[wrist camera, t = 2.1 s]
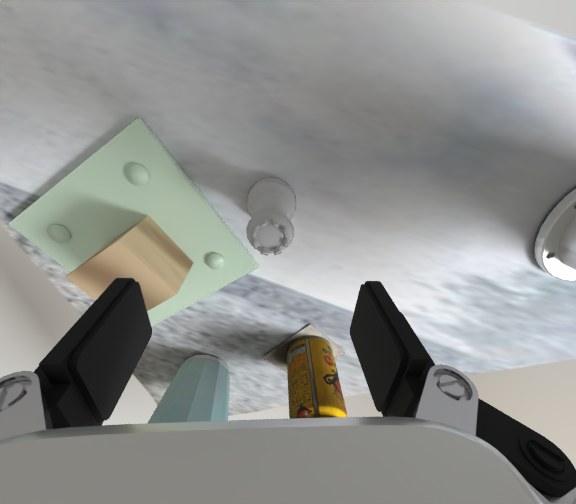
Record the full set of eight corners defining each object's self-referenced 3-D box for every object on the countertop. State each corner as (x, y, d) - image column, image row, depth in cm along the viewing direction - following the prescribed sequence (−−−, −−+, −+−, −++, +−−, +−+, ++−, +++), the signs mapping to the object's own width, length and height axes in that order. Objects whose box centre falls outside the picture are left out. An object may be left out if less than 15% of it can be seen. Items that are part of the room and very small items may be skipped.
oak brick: (148, 215, 23) (118, 240, 19) (193, 262, 26) (177, 294, 21) (102, 246, 24) (65, 277, 20) (150, 288, 27) (126, 323, 23)
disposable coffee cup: (253, 384, 37) (240, 534, 24) (184, 398, 38) (137, 549, 25) (225, 334, 32) (190, 490, 19) (147, 352, 33) (62, 512, 20)
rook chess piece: (305, 193, 24) (317, 229, 17) (279, 230, 25) (280, 277, 18) (262, 166, 22) (257, 193, 15) (238, 207, 24) (223, 249, 17)
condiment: (344, 351, 35) (374, 456, 24) (297, 379, 37) (305, 485, 27) (310, 322, 32) (327, 428, 21) (261, 355, 34) (255, 463, 24)
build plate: (141, 118, 20) (134, 119, 19) (258, 263, 27) (257, 269, 26) (16, 220, 24) (5, 225, 23) (147, 325, 31) (143, 332, 30)
